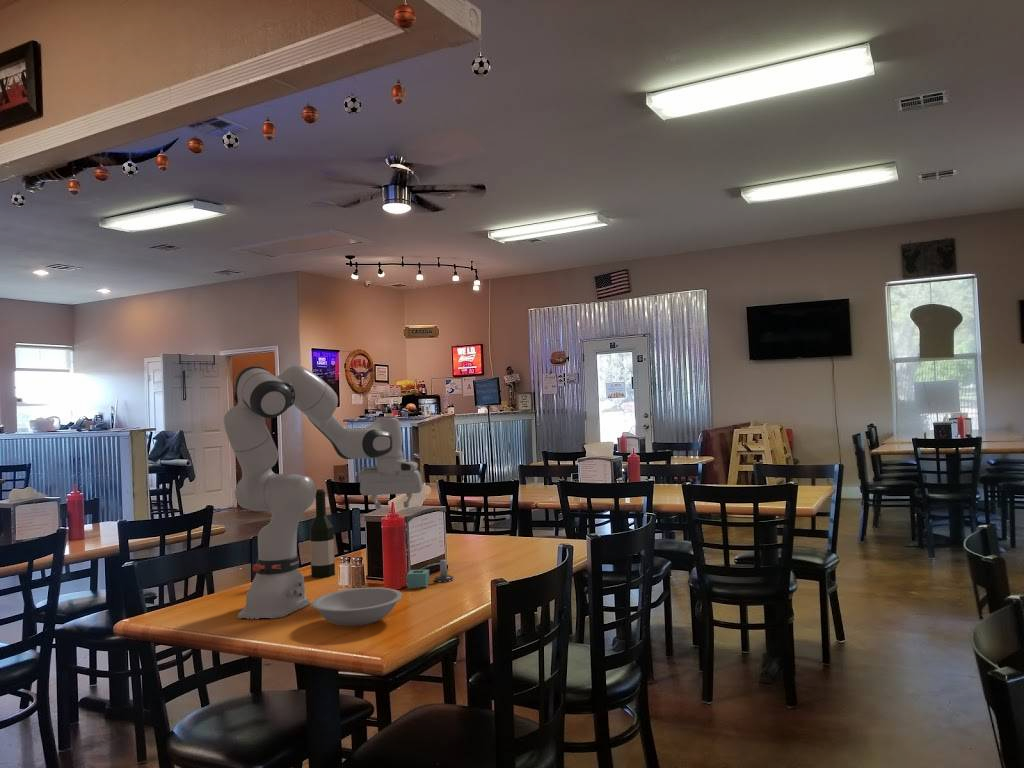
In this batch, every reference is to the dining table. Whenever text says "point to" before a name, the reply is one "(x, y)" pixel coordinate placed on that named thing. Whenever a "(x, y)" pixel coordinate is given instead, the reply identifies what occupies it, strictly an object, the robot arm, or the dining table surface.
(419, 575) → the teal block
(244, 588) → the dining table surface
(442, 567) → the post stand
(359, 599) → the soup bowl
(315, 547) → the wine bottle
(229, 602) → the dining table surface
